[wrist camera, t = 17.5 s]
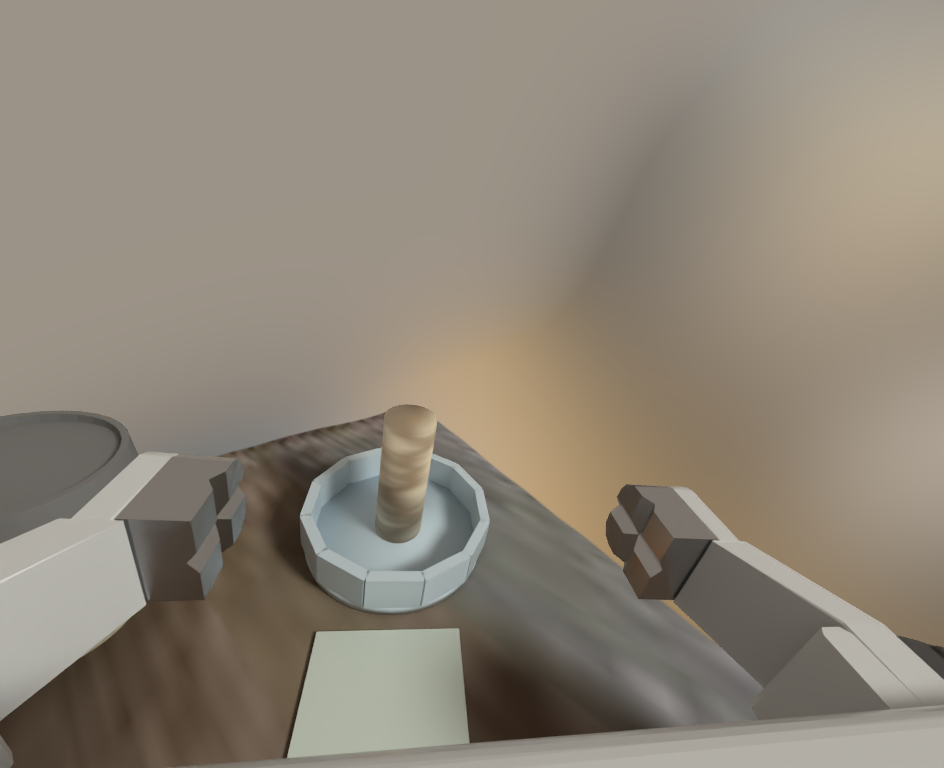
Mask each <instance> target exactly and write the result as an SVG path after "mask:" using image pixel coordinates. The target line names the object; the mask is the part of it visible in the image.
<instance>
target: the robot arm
mask: <svg viewBox="0 0 944 768" xmlns="http://www.w3.org/2000/svg"><path fill="white" fill-rule="evenodd" d="M243 477H244V473H243V465H242V462H241V461H240V460H239V459H236V458H224V457H213V456H201V455H190V454H172V453H161V452H146V453H143V454H140V455H139V456H137V457H136V458H135V459H134V460H133V461H132V462H131V463H130V464H129V465H128V466H127V467H126V468H124V469H123V470H122V471H121V472H120V473H119V474H118V475H117V476H116V477H115V478H114V479H113V480H112V481H110V482H109V483H108V484H107V485H106V486H105V487H104V488H103V489H102V490H101V491H100V492H99V493H98V494H97V495H95V496H94V497H93V498H92V499H91V500H90V501H89V502H88V503H87V504H86V505H85V506H84V507H83V508H81V509H80V510H79V511H78V512H77V513H76V514H75V515H74V516H73V517H72V518H71V519H62V518H59V519H56V520H54V521H52V522H49V523H47V524H45V525H42V526H40V527H38V528H35V529H33V530H31V531H29V532H26V533H24V534H22V535H19V536H17V537H15V538H12V539H10V540H8V541H6V542H3V543H1V544H0V721H1V720H2V719H3V718H5V717H6V716H7V715H8V714H10V713H11V712H12V711H13V710H15V709H16V708H17V707H18V706H20V705H21V704H22V703H23V702H25V701H26V700H27V699H28V698H30V697H31V696H32V695H33V694H35V693H36V692H37V691H38V690H40V689H41V688H42V687H44V686H45V685H46V684H47V683H49V682H50V681H51V680H52V679H54V678H55V677H56V676H57V675H59V674H60V673H61V672H62V671H64V670H65V669H66V668H67V667H69V666H70V665H71V664H72V663H74V662H75V661H76V660H77V659H79V658H80V657H81V656H83V655H84V654H85V653H86V652H88V651H89V650H90V649H91V648H93V647H94V646H95V645H96V644H98V643H99V642H100V641H101V640H103V639H104V638H105V637H106V636H108V635H109V634H110V633H111V632H113V631H114V630H115V629H116V628H118V627H119V626H120V625H122V624H123V623H124V622H125V621H127V620H128V619H129V618H130V617H132V616H133V615H134V614H135V613H137V612H138V611H139V610H140V609H142V608H143V607H144V606H145V605H146V602H153V601H188V600H205V598H206V596H207V594H208V593H209V591H210V589H211V587H212V585H213V583H214V581H215V579H216V577H217V576H218V574H219V572H220V570H221V568H222V566H223V562H222V552H223V551H225V550H226V549H228V548H229V547H231V546H232V545H234V543H235V541H236V539H237V537H238V535H239V533H240V531H241V527H242V524H243V521H244V517H245V510H246V495H245V493H244V492H243V491H242V490H241V489H240V488H239V487H238V485H239V483H240V482H241V480H242V478H243ZM617 499H618V502H619V506H617V507H616V508H615V509H613V510H612V511H611V512H610V514H609V517H608V519H607V521H606V537H607V540H608V544H609V546H610V548H611V550H612V552H613V554H615V555H616V556H617V557H619V558H620V559H621V560H622V561H623V562H624V568H623V572H624V574H625V575H626V577H627V579H628V581H629V583H630V584H631V586H632V588H633V590H634V592H635V593H636V595H637V597H638V599H658V600H674V603H675V604H676V605H677V606H678V607H679V608H680V609H681V610H682V611H683V612H684V613H686V614H687V615H688V616H689V617H690V618H691V619H692V620H693V621H694V622H695V623H696V624H697V625H698V626H699V627H701V628H702V630H704V631H705V632H706V633H707V634H708V635H709V636H710V637H711V638H712V639H713V640H714V641H715V642H716V643H717V644H718V645H719V646H720V647H722V648H723V649H724V650H725V651H726V652H727V653H728V654H729V655H730V656H731V657H732V658H733V659H734V660H735V661H736V662H737V663H738V664H740V665H741V666H742V667H743V668H744V669H745V670H746V671H747V672H748V673H749V674H750V675H751V676H752V677H753V678H754V679H755V680H756V681H758V682H759V683H760V684H761V685H762V686H763V687H764V689H763V690H762V691H761V692H760V693H759V694H758V695H757V696H756V697H755V699H754V700H753V702H752V710H753V711H754V713H755V714H756V716H757V717H758V719H759V720H752V721H740V722H728V723H715V724H703V725H690V726H678V727H665V728H653V729H641V730H628V731H616V732H603V733H591V734H578V735H566V736H554V737H541V738H529V739H516V740H504V741H491V742H479V743H467V744H454V745H442V746H429V747H417V748H404V749H392V750H380V751H367V752H355V753H343V754H330V755H318V756H306V757H293V758H281V759H269V760H256V761H244V762H232V763H219V764H207V765H195V766H182V767H170V768H944V680H943V679H942V678H941V677H940V676H939V675H938V674H937V673H936V672H935V671H934V670H933V669H932V668H930V667H929V666H928V665H927V664H926V663H925V662H924V661H923V660H922V659H921V658H920V657H919V656H917V655H916V654H915V653H914V652H913V651H912V650H911V649H910V648H909V647H908V646H907V645H906V644H904V643H903V642H902V641H901V640H900V639H899V638H898V637H897V636H896V635H895V634H894V633H893V632H891V631H890V630H889V629H888V628H887V627H886V626H885V625H884V624H882V623H881V622H879V621H877V620H875V619H874V618H872V617H871V616H869V615H867V614H866V613H864V612H862V611H861V610H859V609H857V608H855V607H854V606H852V605H850V604H849V603H847V602H846V601H844V600H842V599H841V598H839V597H837V596H835V595H834V594H832V593H831V592H829V591H827V590H825V589H824V588H822V587H820V586H819V585H817V584H815V583H814V582H812V581H811V580H809V579H807V578H806V577H804V576H802V575H800V574H799V573H797V572H795V571H794V570H792V569H790V568H789V567H787V566H785V565H784V564H782V563H780V562H779V561H777V560H775V559H774V558H772V557H770V556H769V555H767V554H765V553H764V552H762V551H760V550H758V549H757V548H755V547H754V546H752V545H750V544H749V543H747V542H742V541H739V540H738V539H737V538H736V537H735V536H734V535H733V534H732V533H731V532H730V530H729V529H728V528H727V527H726V526H725V525H724V524H723V523H722V522H721V521H720V520H719V519H718V518H717V517H716V516H715V515H714V513H713V512H712V511H711V510H710V509H709V508H708V507H707V506H706V505H705V504H704V503H703V502H702V501H701V500H700V499H699V497H698V496H697V495H696V494H695V493H694V492H693V491H692V490H690V489H688V488H686V487H675V486H665V487H662V486H646V485H628V484H627V485H625V486H624V487H623V488H622V489H621V491H620V492H619V494H618V496H617ZM12 765H13V756H12V751H11V750H10V748H9V747H8V745H7V744H6V743H5V741H4V740H3V738H2V737H1V735H0V768H11V766H12Z"/></svg>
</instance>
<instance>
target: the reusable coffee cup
mask: <svg viewBox="0 0 944 768" xmlns="http://www.w3.org/2000/svg"><path fill="white" fill-rule="evenodd" d="M137 456H138V453H137V451H136V449H135V446H134V444H133V442H132V440H131V437H130V435H129V433H128V430H127V429H126V428H125V427H124V426H123V425H122V424H121V423H120V422H118V421H116V420H114V419H112V418H110V417H106V416H103V415H100V414H94V413H88V412H79V411H43V412H32V413H21V414H13V415H8V416H2V417H0V544H1V543H3V542H6V541H8V540H10V539H12V538H15V537H17V536H19V535H22V534H24V533H26V532H29V531H31V530H33V529H35V528H38V527H40V526H42V525H45V524H47V523H49V522H52V521H54V520H56V519H59V518H62V519H71V518H72V517H73V516H74V515H75V514H76V513H77V512H78V511H79V510H80V509H81V508H83V507H84V506H85V505H86V504H87V503H88V502H89V501H90V500H91V499H92V498H93V497H94V496H95V495H97V494H98V493H99V492H100V491H101V490H102V489H103V488H104V487H105V486H106V485H107V484H108V483H109V482H110V481H112V480H113V479H114V478H115V477H116V476H117V475H118V474H119V473H120V472H121V471H122V470H123V469H124V468H126V467H127V466H128V465H129V464H130V463H131V462H132V461H133V460H134V459H135V458H136V457H137ZM125 623H126V621H125V622H124V623H123V624H122V625H120V626H119V627H118V628H116V629H115V630H114V631H113V632H111V633H110V634H109V635H108V636H106V637H105V638H104V639H103V640H101V641H100V642H99V643H98V644H96V645H95V646H94V647H93V648H91V649H90V650H89V651H88V652H86V653H85V654H84V655H86V654H87V653H89V652H90V651H92V650H94V649H95V648H97V647H98V646H100V645H101V644H102V643H104V642H105V641H106V640H107V639H109V638H110V637H111V636H112V635H113V634H115V633H116V632H117V631H118V630H119V629H120V628H121V627H122V626H123V625H124V624H125ZM84 655H83V656H84ZM81 657H82V656H81ZM81 657H80V658H81Z"/></svg>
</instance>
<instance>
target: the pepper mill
mask: <svg viewBox="0 0 944 768" xmlns="http://www.w3.org/2000/svg"><path fill="white" fill-rule="evenodd" d="M436 426H437V417H436V416H435V414H434V413H433V412H431V411H430V410H428V409H426V408H424V407H421V406H416V405H399V406H395V407H392V408H390V409H389V410H387V412H386V413H385V415H384V427H383V438H382V450H381V462H380V473H379V485H378V496H377V508H376V519H375V530H376V532H377V534H378V536H379V537H380V538H382V539H383V540H385V541H387V542H390V543H405V542H408V541H410V540H412V539H414V538H415V537H416V536H417V535H418V533H419V531H420V528H421V521H422V515H423V509H424V502H425V496H426V489H427V483H428V477H429V470H430V464H431V458H432V451H433V445H434V438H435V432H436Z"/></svg>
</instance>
